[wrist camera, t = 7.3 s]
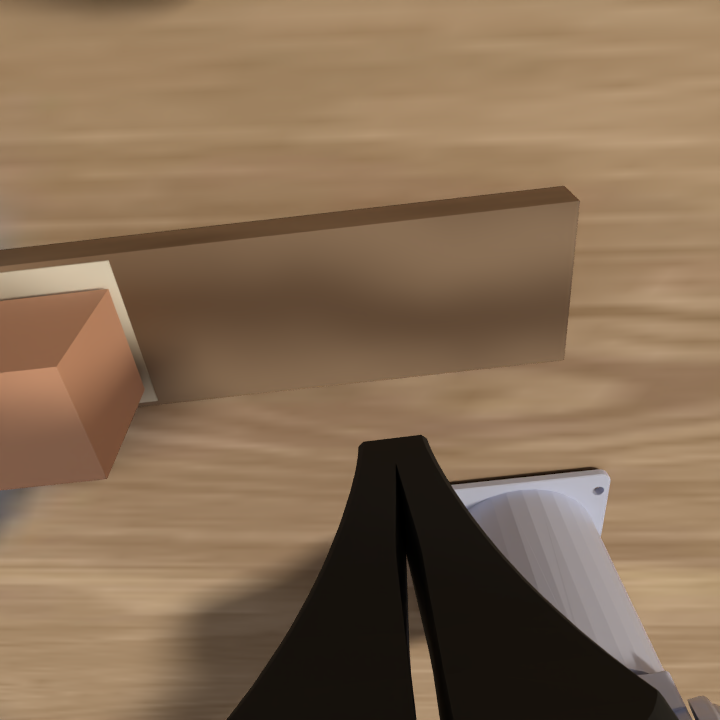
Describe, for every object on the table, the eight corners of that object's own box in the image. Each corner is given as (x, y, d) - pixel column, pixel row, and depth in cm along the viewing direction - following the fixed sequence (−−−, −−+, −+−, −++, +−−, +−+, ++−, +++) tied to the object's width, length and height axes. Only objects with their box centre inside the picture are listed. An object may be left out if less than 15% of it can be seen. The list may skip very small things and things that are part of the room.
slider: (144, 389, 22) (106, 478, 18) (34, 401, 22) (-27, 493, 18) (108, 288, 20) (56, 366, 16) (-15, 302, 20) (-96, 383, 16)
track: (551, 339, 24) (564, 360, 22) (-9, 400, 24) (-28, 425, 23) (564, 186, 20) (580, 201, 19) (-85, 259, 21) (-112, 279, 19)
